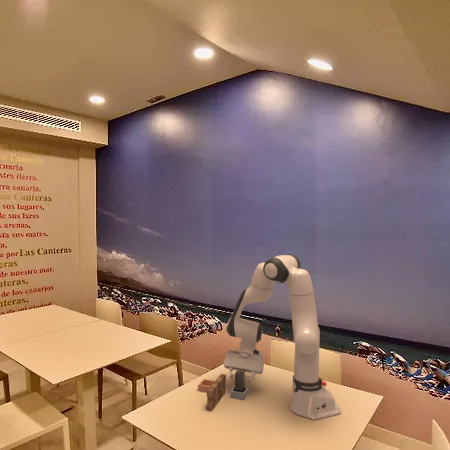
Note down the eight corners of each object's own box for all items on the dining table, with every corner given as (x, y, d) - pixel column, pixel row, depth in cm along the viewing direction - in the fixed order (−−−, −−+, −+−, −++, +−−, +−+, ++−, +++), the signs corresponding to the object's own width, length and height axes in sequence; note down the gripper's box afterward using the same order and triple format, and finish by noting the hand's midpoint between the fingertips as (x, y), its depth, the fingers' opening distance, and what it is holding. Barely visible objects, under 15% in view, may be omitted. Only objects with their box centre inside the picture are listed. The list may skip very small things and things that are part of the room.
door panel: (217, 391, 175) (218, 373, 174) (225, 392, 173) (225, 374, 173) (203, 409, 158) (204, 389, 158) (212, 411, 156) (212, 391, 156)
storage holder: (234, 390, 175) (234, 384, 175) (248, 393, 173) (248, 387, 173) (230, 397, 169) (230, 391, 169) (244, 400, 166) (244, 393, 166)
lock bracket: (203, 384, 181) (203, 378, 181) (216, 387, 179) (216, 381, 179) (197, 390, 174) (197, 384, 174) (211, 393, 172) (211, 387, 172)
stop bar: (236, 392, 173) (237, 370, 173) (244, 394, 172) (245, 371, 172) (234, 396, 170) (234, 373, 169) (242, 398, 168) (242, 375, 168)
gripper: (226, 346, 182) (218, 373, 173) (264, 352, 175) (259, 380, 166) (228, 352, 186) (221, 378, 177) (266, 358, 180) (261, 385, 170)
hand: (240, 379), depth 172 cm, fingers open, 8 cm apart
